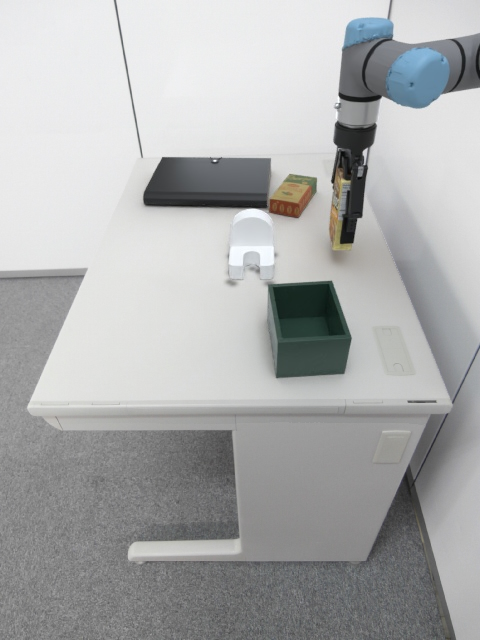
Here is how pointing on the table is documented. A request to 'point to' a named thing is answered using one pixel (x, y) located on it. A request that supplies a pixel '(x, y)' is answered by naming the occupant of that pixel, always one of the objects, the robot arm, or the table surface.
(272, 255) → the white plastic bracket
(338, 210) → the candy box
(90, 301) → the table surface
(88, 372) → the table surface
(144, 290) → the table surface
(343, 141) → the robot arm
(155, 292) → the table surface
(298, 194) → the carton
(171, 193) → the file folder
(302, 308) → the open storage box
